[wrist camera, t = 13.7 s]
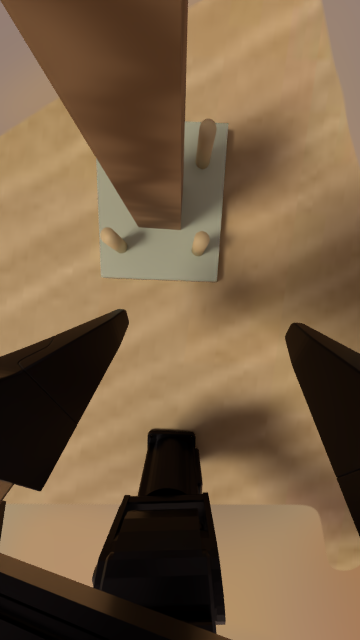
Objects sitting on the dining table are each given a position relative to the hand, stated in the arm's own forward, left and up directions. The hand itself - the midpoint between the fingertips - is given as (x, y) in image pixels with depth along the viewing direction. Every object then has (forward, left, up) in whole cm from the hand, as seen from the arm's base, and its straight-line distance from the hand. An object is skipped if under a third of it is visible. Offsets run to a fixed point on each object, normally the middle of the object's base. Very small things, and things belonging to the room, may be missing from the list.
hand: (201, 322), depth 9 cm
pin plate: (-4, +11, -10) cm, 15 cm away
